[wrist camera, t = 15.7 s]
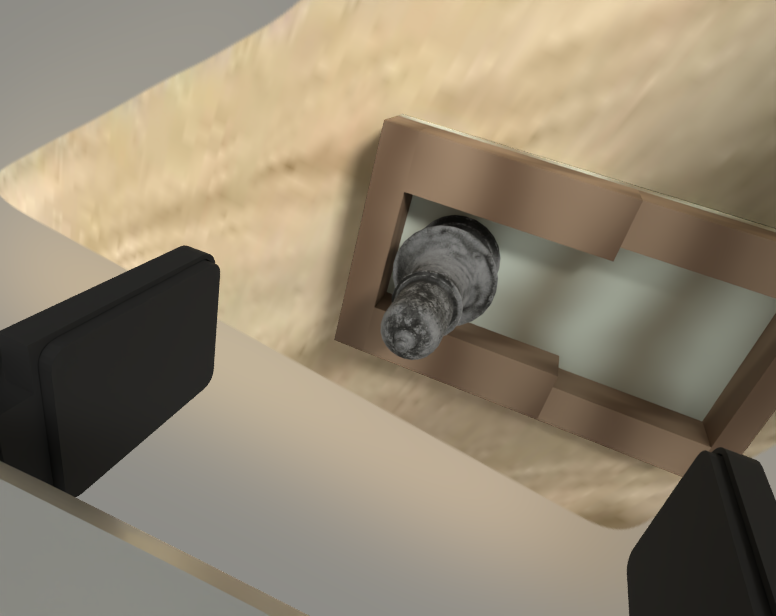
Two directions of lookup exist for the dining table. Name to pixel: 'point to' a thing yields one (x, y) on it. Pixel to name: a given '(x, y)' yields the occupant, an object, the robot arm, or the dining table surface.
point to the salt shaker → (439, 284)
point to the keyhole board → (581, 296)
